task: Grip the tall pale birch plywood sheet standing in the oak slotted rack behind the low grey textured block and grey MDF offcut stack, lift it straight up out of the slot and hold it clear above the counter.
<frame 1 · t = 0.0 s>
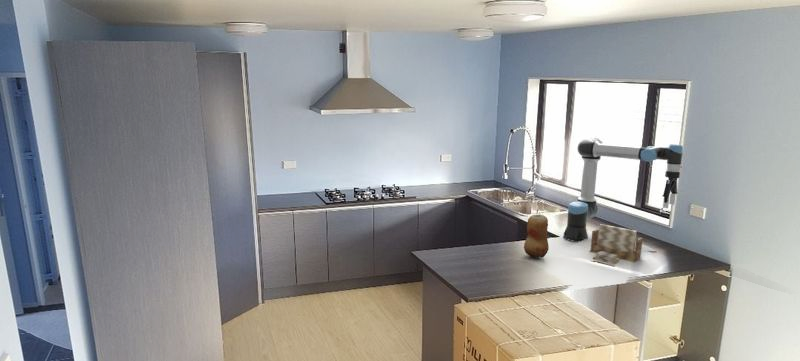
hand: (668, 206, 303), 28 cm above the countertop, tool pointing down, fingers open, 13 cm apart
birch sheet: (614, 254, 294), point 1 cm above the countertop, touching oak rack
grey mdf offcut: (606, 258, 284), point 2 cm above the countertop, touching grey textured block
butternut squash: (535, 258, 290), on the countertop
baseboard: (631, 245, 319), on the countertop
grey textured block: (605, 263, 284), on the countertop, touching grey mdf offcut
oak rack: (614, 256, 294), on the countertop
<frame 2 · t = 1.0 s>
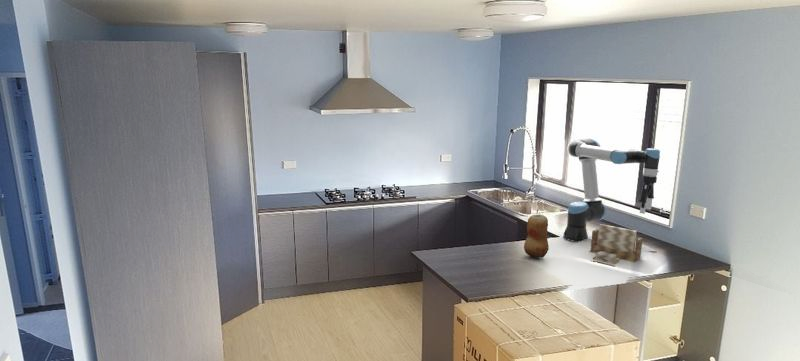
hand: (645, 211, 297), 26 cm above the countertop, tool pointing down, fingers open, 13 cm apart
nothing on the countertop moved.
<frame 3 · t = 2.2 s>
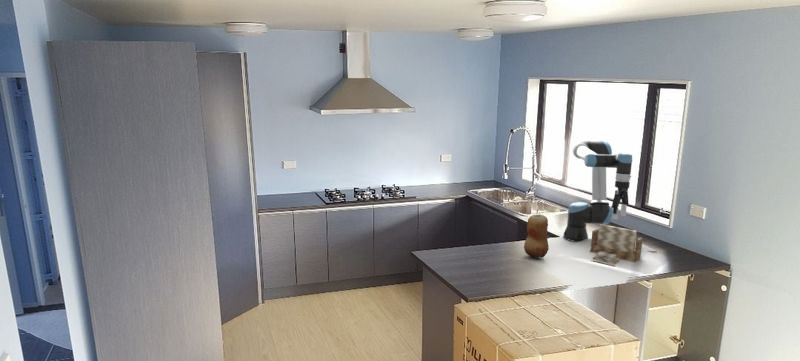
hand: (618, 217, 290), 24 cm above the countertop, tool pointing down, fingers open, 13 cm apart
nothing on the countertop moved.
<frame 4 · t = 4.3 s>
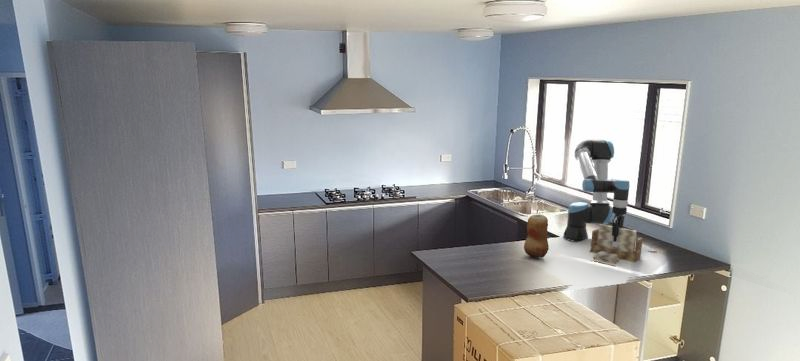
hand: (615, 246, 293), 7 cm above the countertop, tool pointing down, fingers closed on birch sheet, 2 cm apart
birch sheet: (614, 254, 294), point 1 cm above the countertop, touching gripper, oak rack
everything else where it was.
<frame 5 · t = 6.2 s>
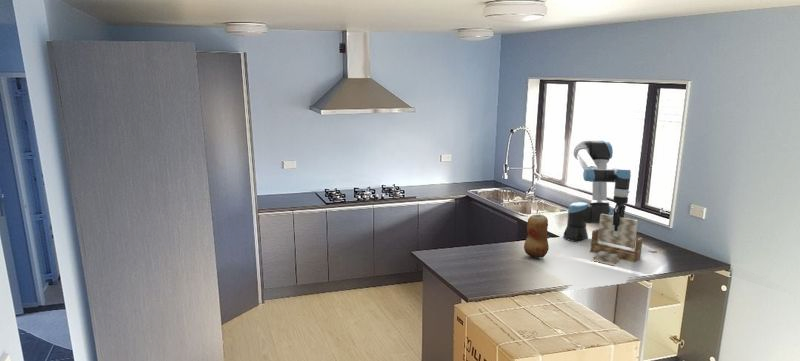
hand: (616, 235, 292), 13 cm above the countertop, tool pointing down, fingers closed on birch sheet, 2 cm apart
birch sheet: (615, 244, 293), point 8 cm above the countertop, touching gripper
grey mdf offcut: (606, 258, 284), point 2 cm above the countertop
grey textured block: (605, 263, 284), on the countertop
everything else where it was.
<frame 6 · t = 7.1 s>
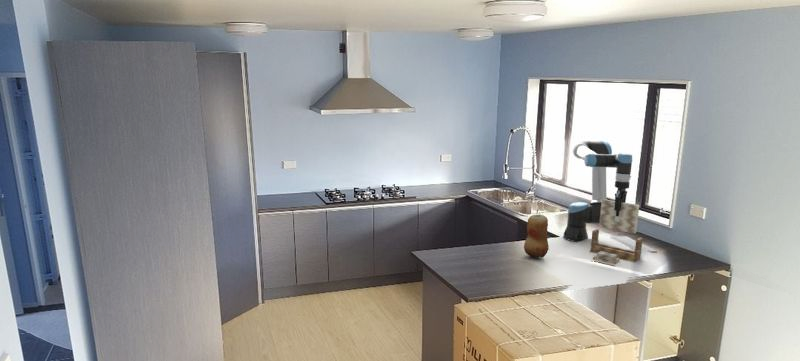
hand: (618, 221, 291), 21 cm above the countertop, tool pointing down, fingers closed on birch sheet, 2 cm apart
birch sheet: (617, 229, 292), point 16 cm above the countertop, touching gripper
grey mdf offcut: (606, 258, 284), point 2 cm above the countertop, touching grey textured block
grey textured block: (605, 263, 284), on the countertop, touching grey mdf offcut
everything else where it was.
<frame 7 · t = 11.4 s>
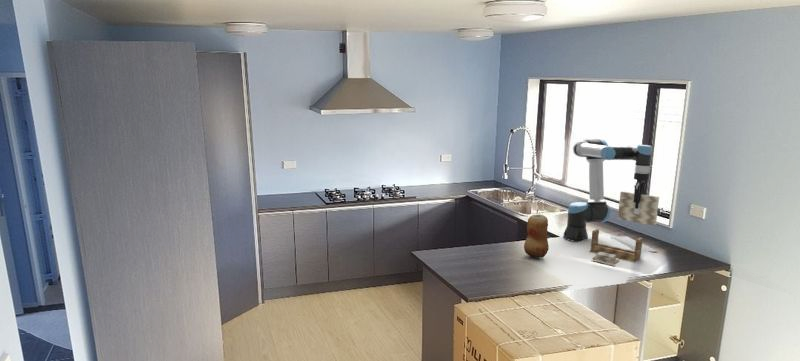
hand: (637, 213, 289), 26 cm above the countertop, tool pointing down, fingers closed on birch sheet, 2 cm apart
birch sheet: (636, 221, 290), point 21 cm above the countertop, touching gripper
at the end: the gripper is holding birch sheet; birch sheet point 21.5 cm above the countertop; grey mdf offcut moved 0.8 cm from its start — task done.
